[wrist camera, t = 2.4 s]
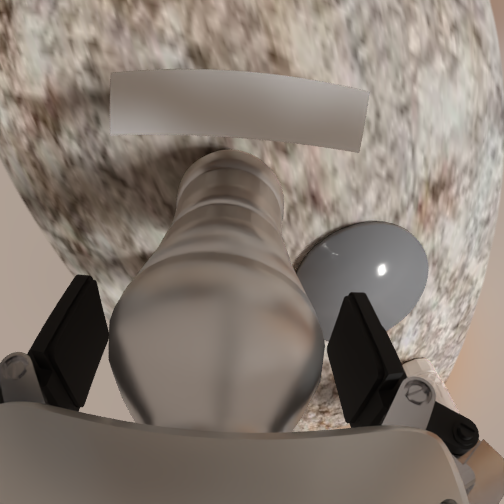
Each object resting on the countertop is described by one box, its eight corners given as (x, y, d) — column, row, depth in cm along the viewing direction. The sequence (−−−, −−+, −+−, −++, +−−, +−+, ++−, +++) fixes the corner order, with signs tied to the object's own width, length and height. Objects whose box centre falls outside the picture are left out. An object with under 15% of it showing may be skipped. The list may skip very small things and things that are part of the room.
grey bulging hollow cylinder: (243, 245, 24) (250, 545, 7) (167, 197, 22) (43, 499, 5) (298, 179, 21) (427, 499, 4) (217, 122, 19) (74, 470, 2)
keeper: (163, 73, 17) (110, 72, 10) (318, 85, 18) (369, 91, 10) (165, 274, 25) (140, 356, 18) (286, 282, 26) (301, 366, 18)
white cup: (375, 373, 34) (398, 443, 25) (432, 345, 32) (464, 410, 23) (387, 397, 37) (406, 457, 29) (436, 373, 35) (462, 430, 27)
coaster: (305, 213, 23) (307, 217, 22) (444, 229, 24) (447, 232, 23) (280, 338, 29) (280, 342, 29) (396, 336, 30) (398, 340, 30)
